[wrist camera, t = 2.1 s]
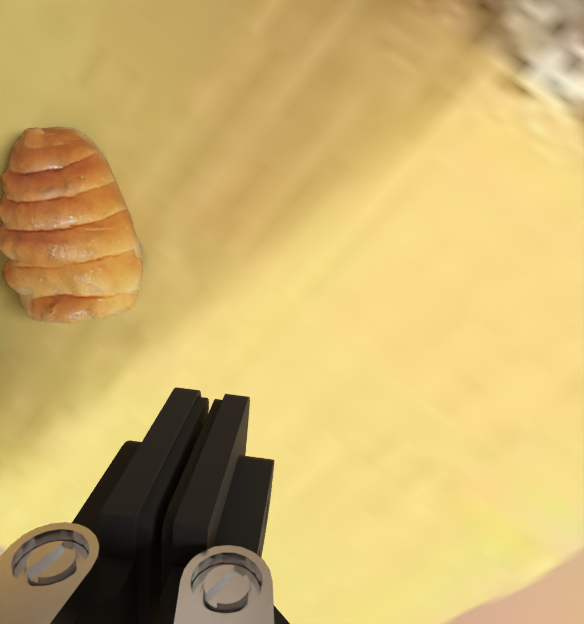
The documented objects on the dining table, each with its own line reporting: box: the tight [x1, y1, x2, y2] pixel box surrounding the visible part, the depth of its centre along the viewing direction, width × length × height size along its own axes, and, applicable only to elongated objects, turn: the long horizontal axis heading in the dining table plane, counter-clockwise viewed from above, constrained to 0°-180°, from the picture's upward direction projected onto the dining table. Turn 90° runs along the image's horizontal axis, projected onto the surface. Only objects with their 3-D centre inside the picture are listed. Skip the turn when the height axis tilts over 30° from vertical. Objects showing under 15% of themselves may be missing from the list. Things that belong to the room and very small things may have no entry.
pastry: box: [0, 127, 143, 323], centre depth 25 cm, size 9×7×4 cm
